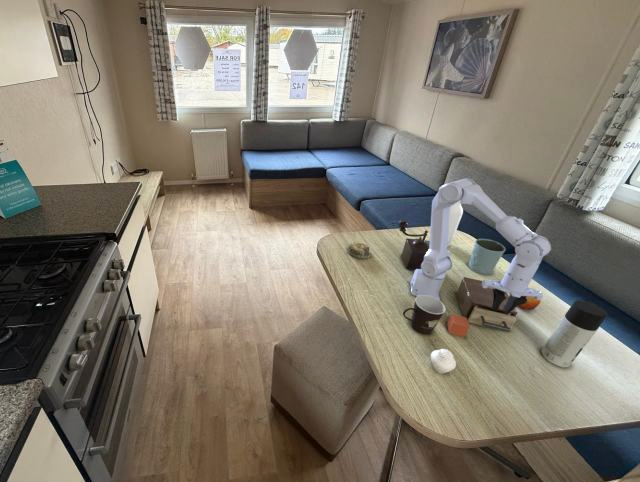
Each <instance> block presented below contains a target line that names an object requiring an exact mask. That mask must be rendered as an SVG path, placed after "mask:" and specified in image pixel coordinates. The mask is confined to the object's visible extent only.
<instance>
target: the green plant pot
mask: <svg viewBox="0 0 640 482" xmlns="http://www.w3.org/2000/svg"><path fill="white" fill-rule="evenodd" d="M505 251H506V247H505V246H504V245H503V244H502V243H500V242H498V241H496V240H493V239H488V238H478V239H476V240H475V242H474V245H473V249H472V253H471V255H470V259H469V262H468V268H469V269H470V270H472V271H473V272H475V273H477V274H480V275H485V276H486V275H491V274H492V273H493V272H494V269H495V268H496V266H497V265H498V263H499V261H500V259H501V258H502V257H503V254H504V253H505Z"/></svg>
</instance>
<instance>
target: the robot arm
mask: <svg viewBox="0 0 640 482" xmlns="http://www.w3.org/2000/svg"><path fill="white" fill-rule="evenodd" d="M459 200H461V201H460V203H461V205H462V204H463V205H471V206H474V207H475V208H476V209H478V210H479V211H480V212H481V213H482V214H483V215H485V216H486V217H487V218H488V219H490V220H491V221H492V222H493V223H495V231H497V232H498V233H499V234H500V235H501V236H502V237H503V238H504V239H505V240H506V241H507V242H508V243H509V244H510V245H512V246H513V247H514V252H515V255H514V257H513V258H512V260H511V262H510V264H509V266H508V268H507V270H506V272H505V274H504V275H503V278H502V280H499V279H485V278H483V280H481V281H482V283H481V285H482V287H483V288H492V289H493V305H492V307H493V310H494V311H497V310H498V308H499V306H500V304H501V303H502V302H503V301H504V300H505V299H506V297H505V293H504V292H507V293H508V295H509V299H508V301H507V303H506V304H505V306H504V311H505V313H506V314H508V313H510V312H511V311H512V310H513V309H514V308H515V309H516V308H517V307H518V308H519V305H522V304H525V303H526V302H527V299H526V297H527V296H528V297H533V298H535V299H537V300H542V298H543V297H544V294H543V292H542V291H541V290H537V289H534V288H532V289H531V287H529V284H530V283H531V281H532V279H533V277H534V276H535V274H536V273H537V271H538V269H539V266H540V264H541V262H542V261H543V258H544V257H545V256H547V255H548V254H549V253H550V252H551V250H552V245H551V243H550V241H549V240H548V238H547V237H545V236H542V235H538V234H537V233H536V232H533V231H532V230H530V228H529V227H527V226H526V225H525V224H524V222H525V221H524V220H523V219H522V218H517V217H516V216H511V215H507V214H506V213H505V212H504V211H503V210H502V208H500V207H499V206H498V205H497V204H496V203H495V202H494V201H493V200H492V199H491V198H490V197H489V196H488V194H486V193H485V192H484V190H483V189H482V187H481V185H479V184H477V183H476V182H475V181H474V180H473V179H471V178H469V177H468V178H467V177H464V178H461V179H459V180H455V181H450V182H447V183H444V184H443V185H441V186H440V187H438V192H437V193H436V195H435V196H434V197H433V199H432V201H431V212H430V230H429V231H430V232H429V241H430V246H429V250H428V252H427V253H426V254H425V256H424V261H423V262H422V264H421V269H416V270H414V272H413V275H412V278H411V281H410V294H411V295H412V296H416V297H417V296H419V295H428V296H432V297H434V298H436V299H438V300H440V301H441V298H440V290H441V287H442V285H443V283H444V280H445V278H446V273H447V271H450V270H451V269H452V268H453V265H454V264H453V260H452V258H451V257H452V256H451V254H452V253H451V252H450V251H449V250H448V247H447V244H448V231H449V218H450V207H451V206H452V205H453V204H455V203H457V202H458V201H459ZM528 287H529V288H528Z"/></svg>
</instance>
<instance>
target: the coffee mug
mask: <svg viewBox="0 0 640 482" xmlns="http://www.w3.org/2000/svg"><path fill="white" fill-rule="evenodd" d="M446 309H447V308H446V306H445V304H444V303H443V302H442V301H441V299H440V300H438V299H436V298H434V297H432V296H428V295H419V296H416V297H415V299H414V303H413V307H409V308H406V309H404V311H403V313H402V315H403V318H405V319H406V320H408V321H410V327H411V328H412V330H414V331H415V332H416V333H418V334H420V335H424V336H429V335H431V334H432V332H433V331H434V329H435V328H436V326H437V325H438V323H439V322H440V320H441V318H442V317H443V315H444V314H445V312H446ZM409 311H412V314H411V318H410V317H408V316H406V313H407V312H409Z"/></svg>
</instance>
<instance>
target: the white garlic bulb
mask: <svg viewBox="0 0 640 482" xmlns="http://www.w3.org/2000/svg"><path fill="white" fill-rule="evenodd" d="M430 361H431V364H432V367H433V370H435V371H436V372H437V373H439V374H446V373H449V372H450V373H451V372H452V371H453V370H454V369H455V368H456V366H457V362H456V359H455V358H454V354H453V353H452V352H451V350H449V349H447V348H440V349H436V350H433V351H432V352H431V354H430Z"/></svg>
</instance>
